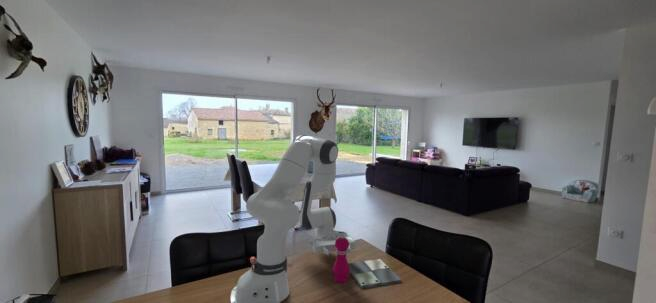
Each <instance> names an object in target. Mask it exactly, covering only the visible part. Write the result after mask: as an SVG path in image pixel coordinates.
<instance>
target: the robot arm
mask: <svg viewBox="0 0 656 303" xmlns="http://www.w3.org/2000/svg"><path fill="white" fill-rule="evenodd" d="M338 155H339V147H338V145H337V144H336V143H335V142H334V141H333V140H330V139H325V138H321V137H318V136H313V135H306V134H301V135H300V134H299V135H297V136H296V137H295V138H294V139H293V141H292V142H291V144H290V146H288V148H287V150H286V151H285V153H284V154H283V155H282V157H281V159H280V161H279V163H278V164H277V167H276V169H275V170H274V172H273V174H272V176H271V177H270V179H268V181H267V182H266V184H264V186H263V187H262V188H261V189H260V190H258V191H256V192H254V193H253V194H251V195H250V196H249V197H248V198H247V201H246V204H245V208H246V212H247V213H248V214H249V215H250V216H251V217H252V218H253V219H255V220H257V221H259V222H261V223H263V225H264V230H263V234H261V235H260V236H259V237H258V239H257V240H256V241H257V242H256V257H255V256H251V257H250V258H249V261H250V263H251V268H249V270H247V271H246V272H245V273H243V274H242V275H240V277H239V279H238V281H237V284H236V286H234V287H233V289H231V292H230V297H229V301H230V302H229V303H281V302H283V301H284V300H285V299H287V298H288V296H289V295H290V293H291V290H290V289H291V288H290V287H289V283H288V275H287V271H288V258H287V239H288V235H289V233H290V231H291V230H292V229H294V228H295V227H296V226H297V224H299V227H300V228H301V229H302V230H304V231H311V230H314V234H315V235H316V238H317V239H313V240H312V241H310V243H309V245H310V246H311V247H312V250H313V253H314V254H326V256H331V254H332V252H336V246H335V242H336V240H337V239H338V238H340V236H341V235H344V238H346V239H347V240H348V241H349V247H348V248H347V249H348V253H351V252H352V250H354V249H355V248H356V247H357V246H356V245H357V244H356V240H355V239H354V238H353V237H352V236H351V235H349V234H348V232H346V231H339V230H335V227H336V225H337V216H336V212H335V211H334V210H333V209H332V208H331V207H330V206H324V207H318V208H312V203H313V199H314V196H315V195H317V194H318V193H320V192H322V191H324V190H326V189H328V188H329V187H331V186H332V185H333V184H334V182H335V180H336V175H337V164H336V160H337V158H338ZM310 162H312V174H311V177H310V179H309V180H307V181H306V183H305V185H304V190H303V197H302V202H301V206H300V207H301V208H299V206H298V205H296V204H295V203H294V202H292V201H290V200H289V199H286V197H287V196H288V195H289V194H291V193H292V192H295V191H296V190H297V189H298V188H300V184H301V183H302V181H303V178H304V177H305V174H306V172H307V170H308V167H309V166H310ZM348 253H347V254H348Z"/></svg>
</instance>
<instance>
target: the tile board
mask: <svg viewBox="0 0 656 303" xmlns="http://www.w3.org/2000/svg"><path fill="white" fill-rule="evenodd" d="M348 264H349V269H350V271H349V273H348V274H349V275H350V276H351V277H352V278H353V280H354V282H356V284H357V285H358V287H359V288H360V289H361V290H362V289H369V288H373V287H381V286H385V285H391V284H398V283H402V278H400V276H398V274H396V272H395V271H394V270H392V269H391V267H389V266H388V265H387V264H386V263H385V262H384V261H383V260H382V259H381V258H377V259H369V260H363V261H354V262H348Z"/></svg>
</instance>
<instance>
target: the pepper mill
mask: <svg viewBox="0 0 656 303" xmlns="http://www.w3.org/2000/svg"><path fill="white" fill-rule="evenodd" d="M335 246H336V251H335V253H336V260H335V262H334V264H333V266H332V272H333V281H335V283H339V284H340V283H341V284H343V283H347V282H348V281H349V274H350V273H349V271H350V269H349V264H348V263H349V262H348V260H347V254H348V249H347V248H348V247H349V241H348V240H347V239H346V238H344V235H341V236H340V238H338V239H337V240H336V242H335Z"/></svg>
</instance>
